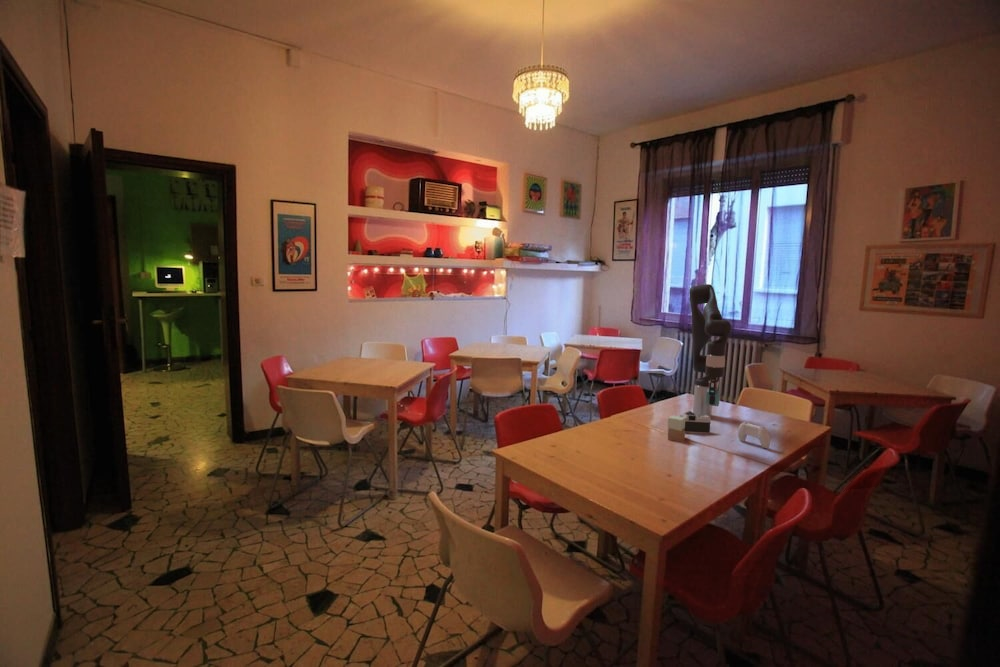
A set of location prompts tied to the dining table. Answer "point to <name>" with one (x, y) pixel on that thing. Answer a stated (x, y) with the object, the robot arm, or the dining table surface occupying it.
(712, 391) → the teal block
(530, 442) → the dining table surface
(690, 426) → the camera
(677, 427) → the sage block
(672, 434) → the walnut base block
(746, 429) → the game controller
